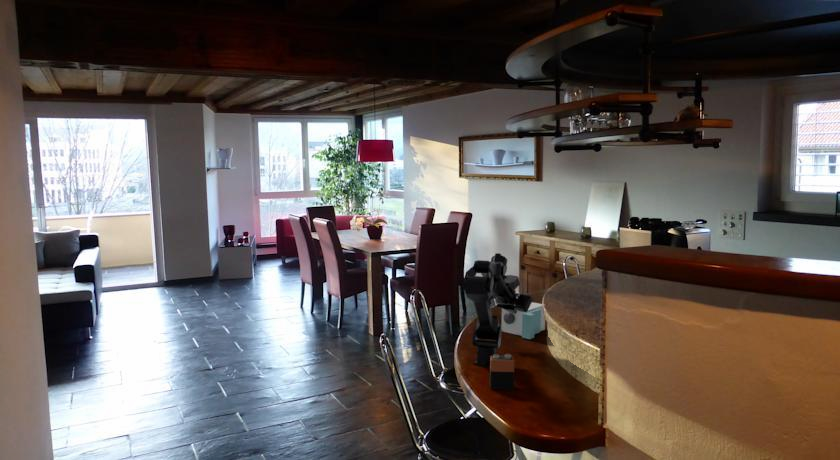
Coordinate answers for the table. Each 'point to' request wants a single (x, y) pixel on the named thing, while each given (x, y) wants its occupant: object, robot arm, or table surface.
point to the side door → (531, 323)
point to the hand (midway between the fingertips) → (515, 312)
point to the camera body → (519, 319)
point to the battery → (502, 372)
